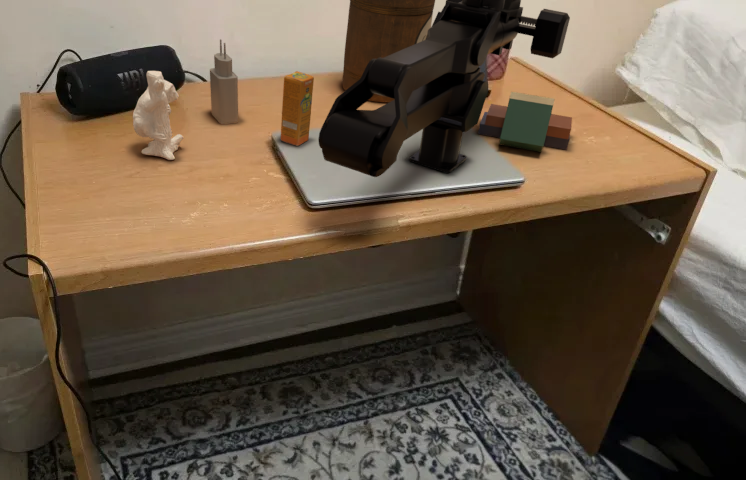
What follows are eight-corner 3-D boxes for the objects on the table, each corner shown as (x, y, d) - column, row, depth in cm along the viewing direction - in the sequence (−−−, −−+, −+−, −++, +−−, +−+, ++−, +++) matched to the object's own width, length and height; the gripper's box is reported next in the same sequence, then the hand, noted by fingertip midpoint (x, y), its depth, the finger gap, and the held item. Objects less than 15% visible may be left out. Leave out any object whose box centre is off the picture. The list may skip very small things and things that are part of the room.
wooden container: (434, 102, 118) (454, -31, 106) (355, 104, 115) (367, -33, 102) (405, 75, 130) (420, -47, 118) (332, 77, 126) (341, -49, 114)
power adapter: (220, 124, 103) (218, 46, 97) (210, 112, 107) (207, 36, 101) (239, 122, 105) (238, 45, 98) (228, 110, 109) (226, 35, 102)
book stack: (482, 121, 112) (486, 101, 110) (567, 136, 109) (573, 116, 107) (477, 134, 107) (481, 113, 105) (566, 150, 104) (572, 129, 102)
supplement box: (299, 147, 98) (301, 80, 93) (280, 141, 100) (281, 75, 94) (311, 140, 101) (314, 75, 95) (292, 134, 102) (294, 69, 96)
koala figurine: (188, 162, 91) (182, 77, 85) (137, 166, 90) (128, 78, 83) (181, 138, 98) (176, 57, 91) (134, 141, 96) (125, 58, 90)
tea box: (501, 134, 107) (512, 86, 103) (543, 142, 106) (555, 93, 102) (497, 150, 102) (508, 100, 97) (540, 158, 100) (553, 107, 96)
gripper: (562, -16, 87) (594, -30, 98) (434, -38, 95) (477, -48, 106) (542, 68, 93) (574, 47, 104) (423, 41, 101) (465, 24, 112)
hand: (521, 15), depth 106 cm, fingers open, 9 cm apart
